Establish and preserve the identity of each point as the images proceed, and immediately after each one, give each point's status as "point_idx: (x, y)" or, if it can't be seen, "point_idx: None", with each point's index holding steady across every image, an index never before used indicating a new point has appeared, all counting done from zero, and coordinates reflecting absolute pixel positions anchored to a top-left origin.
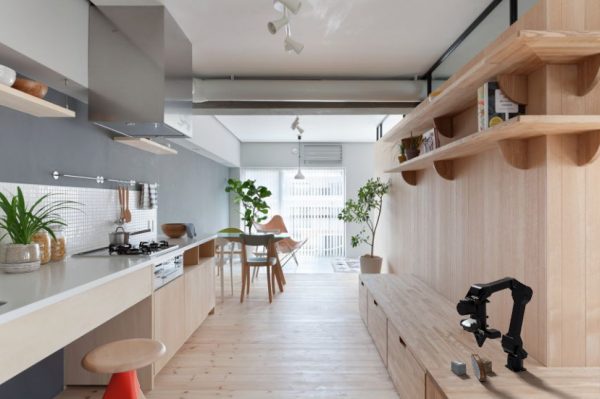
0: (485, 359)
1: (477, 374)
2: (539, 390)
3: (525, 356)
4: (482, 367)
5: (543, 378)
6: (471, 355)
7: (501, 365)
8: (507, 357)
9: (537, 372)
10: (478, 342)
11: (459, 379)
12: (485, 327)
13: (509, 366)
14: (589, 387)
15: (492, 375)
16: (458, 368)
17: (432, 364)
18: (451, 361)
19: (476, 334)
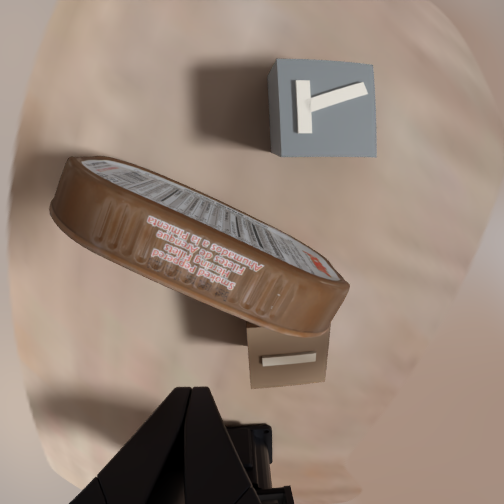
0: (293, 371)
1: (176, 188)
2: (40, 382)
3: None
4: (59, 194)
5: None
6: (336, 280)
7: (284, 418)
8: (254, 469)
9: None
10: (182, 447)
11: (205, 44)
12: None
13: (233, 434)
14: (81, 485)
15: (193, 309)
16: (273, 69)
17: (445, 40)
18: (368, 64)
19: None
